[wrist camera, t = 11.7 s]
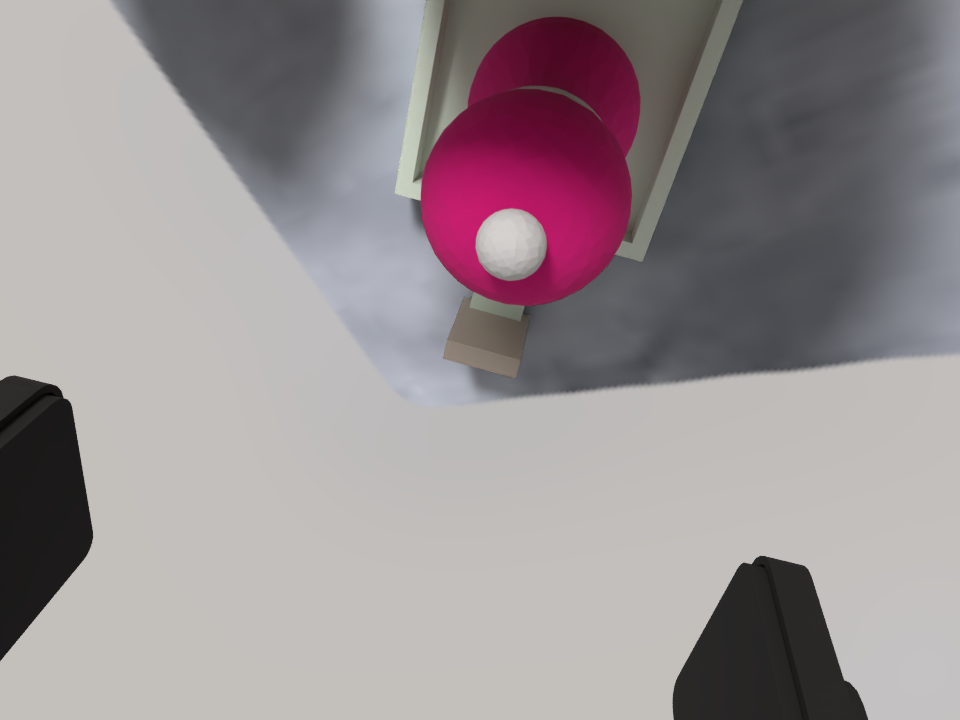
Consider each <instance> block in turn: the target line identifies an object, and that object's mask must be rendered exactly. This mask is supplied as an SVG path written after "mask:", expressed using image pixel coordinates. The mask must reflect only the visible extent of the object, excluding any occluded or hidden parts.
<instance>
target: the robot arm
mask: <svg viewBox="0 0 960 720" xmlns="http://www.w3.org/2000/svg"><path fill="white" fill-rule="evenodd" d="M92 540H93V530H92V524H91V518H90V512H89V506H88V500H87V494H86V488H85V482H84V476H83V470H82V465H81V458H80V452H79V446H78V440H77V434H76V428H75V422H74V417H73V410H72V406H71V403H70V402H69V401H68V400H67V399H64V398H63V395H62V392H61V390H60V389H59V388H58V387H57V386H55V385H52V384H47V383H43V382H39V381H35V380H31V379H27V378H23V377H18V376H10V377H6V378H4V379H3V380H1V381H0V661H1V660H2V658H3V657H4V656H5V655H6V653H7V652H8V651H9V650H10V649H11V647H12V646H13V645H14V644H15V643H16V641H17V640H18V639H19V638H20V636H21V635H22V634H23V633H24V632H25V630H26V629H27V628H28V626H29V625H30V624H31V623H32V622H33V621H34V619H35V618H36V617H37V616H38V615H39V613H40V612H41V611H42V610H43V608H44V607H45V606H46V605H47V603H48V602H49V601H50V600H51V599H52V598H53V596H54V595H55V594H56V593H57V591H58V590H59V589H60V588H61V587H62V585H63V584H64V583H65V582H66V581H67V579H68V578H69V577H70V576H71V574H72V573H73V572H74V571H75V570H76V568H77V567H78V566H79V565H80V563H81V562H82V561H83V560H84V558H85V557H86V555H87V554H88V552H89V550H90V547H91V544H92ZM673 715H674V720H868V718H867V715H866V711H865V708H864V705H863V703H862V701H861V699H860V697H859V694H858V692H857V690H856V689H855V688H854V687H853V686H852V685H851V684H850V683H849V682H847V681H844V679H843V676H842V673H841V669H840V666H839V663H838V660H837V657H836V653H835V650H834V647H833V644H832V641H831V637H830V634H829V631H828V628H827V625H826V622H825V618H824V615H823V612H822V609H821V606H820V602H819V599H818V596H817V593H816V590H815V586H814V583H813V580H812V577H811V575H810V572H809V570H808V569H807V568H806V567H805V566H803V565H799V564H795V563H791V562H786V561H782V560H778V559H774V558H770V557H766V556H759V557H757V558H756V559H755V560H754V562H753V563H752V564H748V563H742V564H741V565H740V566H739V568H738V569H737V571H736V573H735V575H734V576H733V578H732V580H731V582H730V584H729V585H728V587H727V589H726V591H725V593H724V594H723V596H722V598H721V600H720V601H719V603H718V605H717V607H716V609H715V611H714V612H713V614H712V616H711V618H710V620H709V621H708V623H707V625H706V627H705V629H704V630H703V632H702V634H701V636H700V638H699V640H698V641H697V643H696V645H695V647H694V648H693V650H692V652H691V654H690V656H689V658H688V659H687V661H686V663H685V665H684V667H683V668H682V670H681V672H680V674H679V676H678V678H677V680H676V683H675V686H674V693H673Z"/></svg>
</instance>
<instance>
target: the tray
mask: <svg viewBox="0 0 960 720" xmlns="http://www.w3.org/2000/svg"><path fill="white" fill-rule="evenodd" d="M742 3H743V0H426V5H425V11H424V17H423V23H422V29H421V35H420V42H419V48H418V54H417V60H416V66H415V72H414V78H413V84H412V90H411V96H410V102H409V109H408V115H407V121H406V127H405V133H404V139H403V145H402V151H401V157H400V163H399V170H398V176H397V182H396V188H395V194H398V195H402V196H405V197H409V198H413V199H416V200H420V201H421V198H420V197H421V183H422V177H423V173H424V169H425V165H426V162H427V160H428V158H429V155H430V153H431V151H432V149H433V147H434V145H435V143H436V142H437V140H438V138H439V137H440V135H441V133H442V132H443V130H444V129H445V128H446V127H447V126H448V125H449V124H450V123H451V122H452V121H453V120H454V119H455V118H456V117H457V116H458V115H459V114H460V113H461V112H463V111H464V110H465V109H467V108H468V98H469V93H470V89H471V85H472V82H473V80H474V77H475V75H476V72H477V69H478V67H479V65H480V64H481V62H482V60H483V58H484V57H485V55H486V54H487V53H488V51H489V50H490V49H491V48H492V46H493V45H494V44H495V43H496V42H497V41H498V40H499V39H500V38H502V37H503V36H504V35H505V34H506V33H508V32H509V31H511V30H513V29H514V28H516V27H517V26H520V25H522V24H524V23H527V22H529V21H532V20H536V19H540V18H545V17H568V18H574V19H578V20H582V21H585V22H587V23H589V24H592V25H594V26H596V27H598V28H600V29H602V30H603V31H604V32H605V33H606V34H608V35H609V36H610V37H611V38H612V39H614V40H615V41H616V42H617V43H618V45H619V46H620V47H621V48H622V49H623V51H624V52H625V53H626V55H627V57H628V58H629V60H630V62H631V64H632V66H633V68H634V71H635V74H636V77H637V80H638V84H639V91H640V98H641V104H640V117H639V123H638V128H637V133H636V136H635V138H634V141H633V144H632V147H631V149H630V150H629V152H628V154H627V156H626V158H625V159H626V162H627V166H628V170H629V173H630V177H631V187H632V203H631V213H630V218H629V222H628V226H627V231H626V233H625V236H624V238H623V240H622V242H621V245H620V247H619V249H618V250H617V252H616V253H615V255H618V256H622V257H626V258H629V259H633V260H636V261H640V262H643V259H644V256H645V254H646V251H647V249H648V246H649V243H650V241H651V238H652V236H653V233H654V230H655V228H656V225H657V223H658V220H659V218H660V215H661V212H662V210H663V207H664V205H665V202H666V199H667V197H668V194H669V192H670V189H671V186H672V184H673V181H674V179H675V176H676V173H677V171H678V168H679V166H680V163H681V161H682V158H683V155H684V153H685V150H686V148H687V145H688V142H689V140H690V137H691V135H692V132H693V129H694V127H695V124H696V122H697V119H698V116H699V114H700V111H701V109H702V106H703V104H704V101H705V98H706V96H707V93H708V91H709V88H710V85H711V83H712V80H713V78H714V75H715V72H716V70H717V67H718V65H719V62H720V60H721V57H722V54H723V52H724V49H725V47H726V44H727V41H728V39H729V36H730V34H731V31H732V28H733V26H734V23H735V21H736V18H737V15H738V13H739V10H740V8H741V5H742ZM524 308H525V306H521V305H509V304H504V303H500V302H497V301H494V300H490V299H487V298H485V297H483V296H481V295H479V294H477V293H475V292H473V295H472V299H469V298H465V297H464V299H463V302H462V304H461V307H460V309H459V312H458V314H457V317H456V319H455V322H454V324H453V327H452V329H451V332H450V334H449V337H448V339H447V343H446V347H445V352H444V356H443V359H447V360H451V361H454V362H458V363H461V364H465V365H468V366H472V367H476V368H479V369H483V370H486V371H490V372H493V373H497V374H500V375H504V376H508V377H511V378H515V379H516V375H517V372H518V369H519V366H520V362H521V358H522V354H523V349H524V344H525V340H526V335H527V330H528V325H529V321H530V315H526V314H523V311H524Z"/></svg>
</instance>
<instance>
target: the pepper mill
mask: <svg viewBox="0 0 960 720" xmlns="http://www.w3.org/2000/svg"><path fill="white" fill-rule="evenodd" d="M640 104H641V98H640V91H639V84H638V80H637V77H636V74H635V71H634V68H633V66H632V64H631V62H630V60H629V58H628V57H627V55H626V53H625V52H624V51H623V49H622V48H621V47H620V46H619V45H618V43H617V42H616V41H615V40H614V39H612V38H611V37H610V36H609V35H608V34H606V33H605V32H604V31H603V30H602V29H600V28H598V27H596V26H594V25H592V24H589V23H587V22H585V21H582V20H578V19H574V18H568V17H545V18H540V19H536V20H532V21H529V22H527V23H524V24H522V25H520V26H517V27H516V28H514V29H513V30H511V31H509V32H508V33H506V34H505V35H504V36H503V37H502V38H500V39H499V40H498V41H497V42H496V43H495V44H494V45H493V46H492V48H491V49H490V50H489V51H488V53H487V54H486V55H485V57H484V58H483V60H482V62H481V64H480V65H479V67H478V69H477V72H476V75H475V77H474V80H473V82H472V85H471V89H470V93H469V98H468V108H467V109H465V110H464V111H463V112H461V113H460V114H459V115H458V116H457V117H456V118H455V119H454V120H453V121H452V122H451V123H450V124H449V125H448V126H447V127H446V128H445V129H444V130H443V132H442V133H441V135H440V137H439V138H438V140H437V142H436V143H435V145H434V147H433V149H432V151H431V153H430V155H429V158H428V160H427V162H426V165H425V169H424V173H423V177H422V183H421V197H420V198H421V216H422V221H423V225H424V228H425V232H426V235H427V238H428V240H429V242H430V244H431V246H432V249H433V251H434V253H435V255H436V256H437V257H438V259H439V260H440V262H441V263H442V264H443V266H444V267H445V268H446V269H447V270H448V271H449V272H450V273H451V274H452V275H453V277H454V278H455V279H456V280H457V281H459V282H460V283H461V284H463V285H464V286H466V287H467V288H468V289H470V290H471V291H473V292H475V293H477V294H479V295H481V296H483V297H485V298H487V299H490V300H494V301H497V302H500V303H504V304H509V305H521V306H531V305H541V304H546V303H549V302H553V301H556V300H560V299H562V298H564V297H566V296H568V295H570V294H572V293H574V292H576V291H579V290H581V289H582V288H583V287H585V286H586V285H587V284H588V283H590V282H591V281H592V280H593V279H595V278H596V277H597V276H598V275H599V274H600V273H601V272H602V271H603V270H604V269H605V268H606V267H607V266H608V264H609V263H610V261H611V260H612V258H613V257H614V255H615V253H616V252H617V250H618V249H619V247H620V245H621V242H622V240H623V238H624V236H625V233H626V231H627V226H628V222H629V218H630V213H631V203H632V187H631V177H630V173H629V170H628V166H627V162H626V159H625V158H626V156H627V154H628V152H629V150H630V149H631V147H632V144H633V141H634V138H635V136H636V133H637V128H638V123H639V117H640Z"/></svg>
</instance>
